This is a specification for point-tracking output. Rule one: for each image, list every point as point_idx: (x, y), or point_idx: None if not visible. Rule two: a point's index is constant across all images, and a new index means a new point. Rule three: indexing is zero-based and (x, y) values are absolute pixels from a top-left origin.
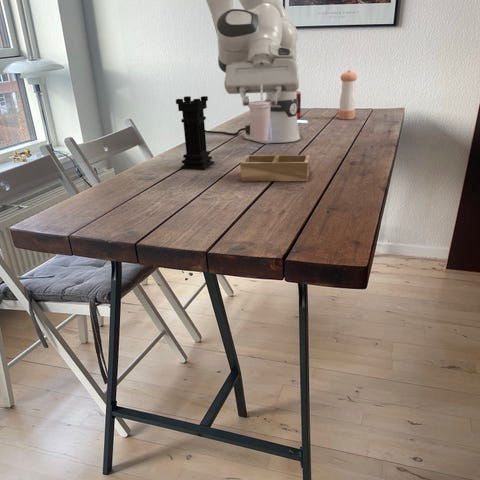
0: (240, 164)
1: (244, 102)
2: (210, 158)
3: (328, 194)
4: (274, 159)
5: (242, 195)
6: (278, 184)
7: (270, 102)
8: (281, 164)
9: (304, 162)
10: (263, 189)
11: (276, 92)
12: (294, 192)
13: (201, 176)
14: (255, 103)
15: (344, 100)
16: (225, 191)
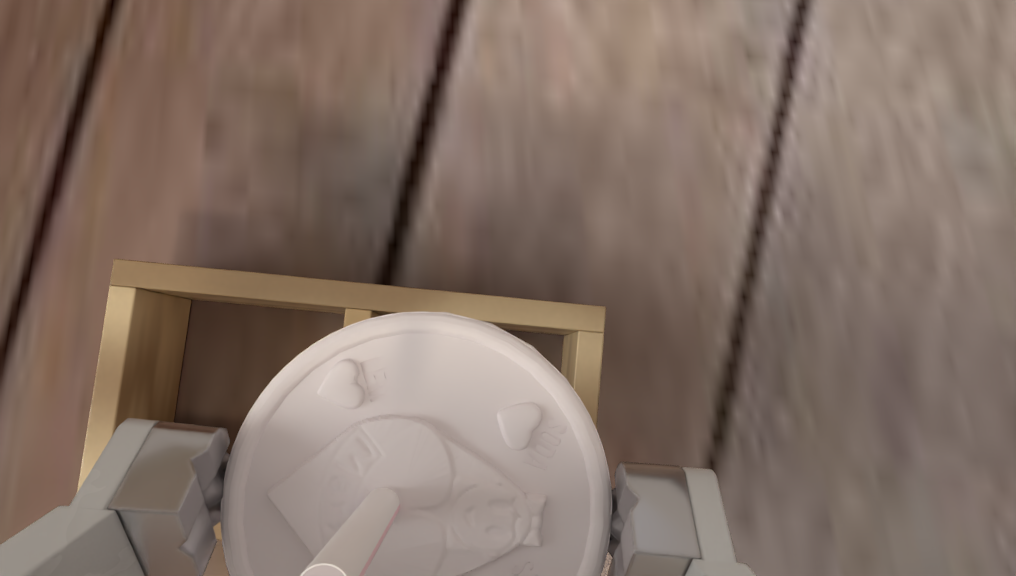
0: (603, 306)
1: (676, 467)
2: None
3: (78, 6)
4: None
5: (551, 25)
6: (352, 224)
7: (237, 443)
8: (306, 277)
9: (135, 270)
10: (439, 128)
11: (41, 559)
12: (262, 57)
13: (863, 456)
14: (489, 438)
15: None
16: (656, 107)
